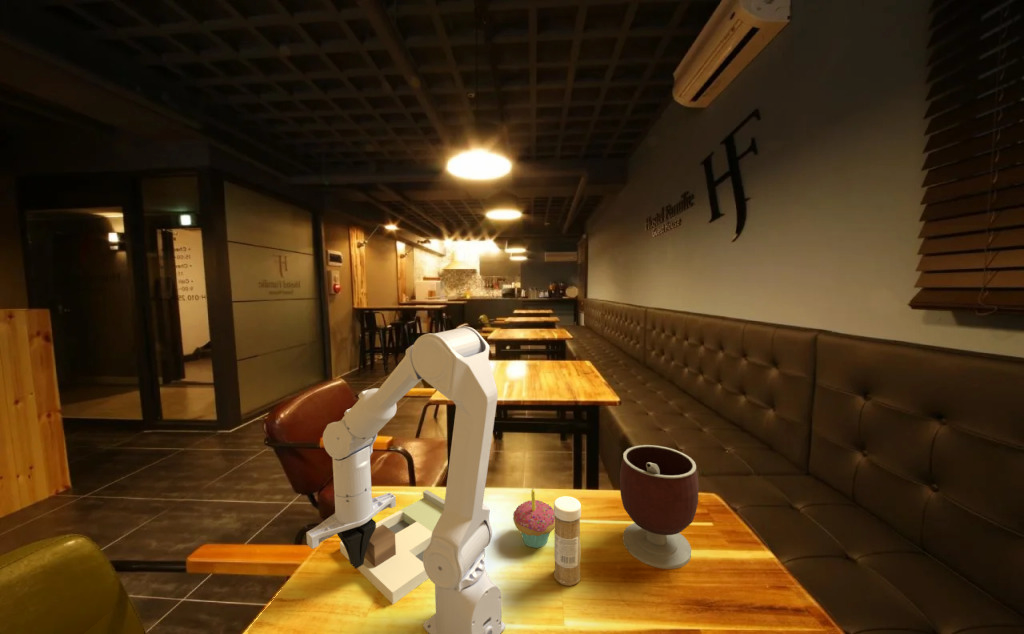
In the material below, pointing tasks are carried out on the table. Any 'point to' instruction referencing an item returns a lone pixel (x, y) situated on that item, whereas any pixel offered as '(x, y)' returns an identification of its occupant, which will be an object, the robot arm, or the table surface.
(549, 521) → the cupcake
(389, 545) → the walnut block
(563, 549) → the sprinkles bottle
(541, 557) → the table surface
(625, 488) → the mate gourd
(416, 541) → the board
